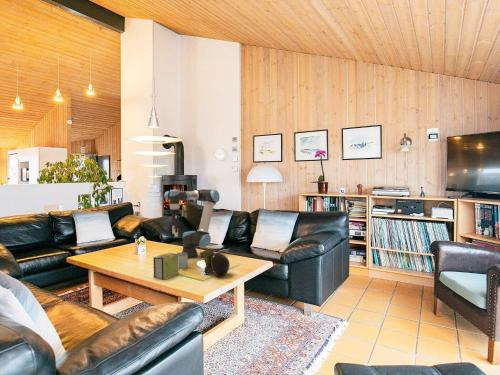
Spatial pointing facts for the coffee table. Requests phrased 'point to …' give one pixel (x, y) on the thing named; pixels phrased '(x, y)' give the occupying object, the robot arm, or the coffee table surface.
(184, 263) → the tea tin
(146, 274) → the coffee table surface
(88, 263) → the coffee table surface
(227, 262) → the frog statue
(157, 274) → the protein box
